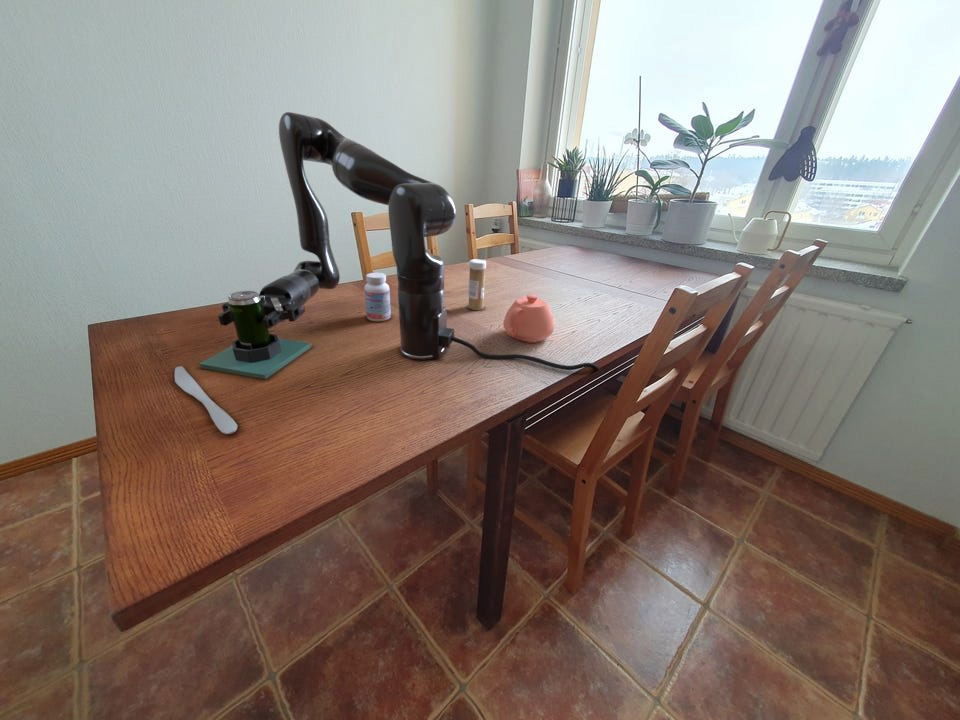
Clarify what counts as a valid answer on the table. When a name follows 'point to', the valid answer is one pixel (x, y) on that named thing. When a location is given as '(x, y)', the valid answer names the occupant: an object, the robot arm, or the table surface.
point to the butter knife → (205, 401)
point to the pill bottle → (377, 297)
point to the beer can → (249, 319)
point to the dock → (256, 367)
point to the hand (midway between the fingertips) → (243, 322)
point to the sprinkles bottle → (476, 284)
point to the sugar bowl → (529, 319)
